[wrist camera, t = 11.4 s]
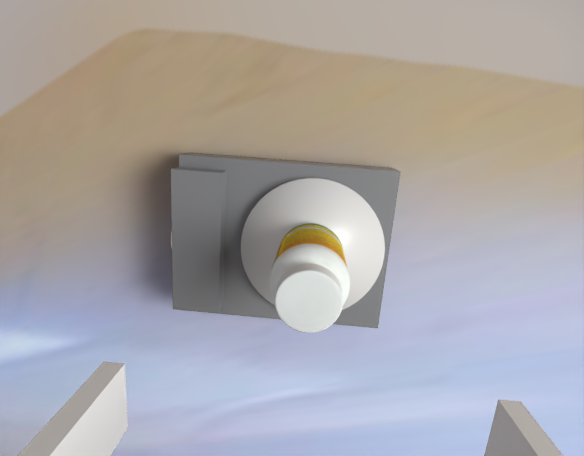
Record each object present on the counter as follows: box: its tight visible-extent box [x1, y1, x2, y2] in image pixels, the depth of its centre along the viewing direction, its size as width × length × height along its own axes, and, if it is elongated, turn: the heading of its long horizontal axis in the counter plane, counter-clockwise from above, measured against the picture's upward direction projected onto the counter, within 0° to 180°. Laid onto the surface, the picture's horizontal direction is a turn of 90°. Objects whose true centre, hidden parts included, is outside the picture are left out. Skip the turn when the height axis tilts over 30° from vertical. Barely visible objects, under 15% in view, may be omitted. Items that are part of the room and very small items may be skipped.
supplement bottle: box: [269, 223, 350, 333], centre depth 26 cm, size 5×5×10 cm
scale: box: [171, 153, 400, 328], centre depth 32 cm, size 18×14×5 cm
